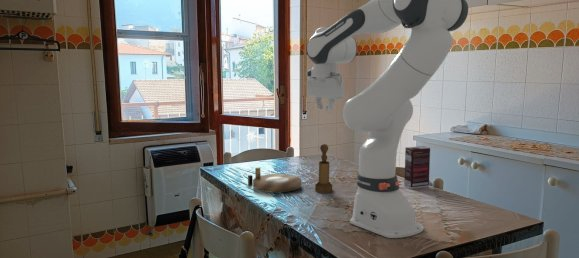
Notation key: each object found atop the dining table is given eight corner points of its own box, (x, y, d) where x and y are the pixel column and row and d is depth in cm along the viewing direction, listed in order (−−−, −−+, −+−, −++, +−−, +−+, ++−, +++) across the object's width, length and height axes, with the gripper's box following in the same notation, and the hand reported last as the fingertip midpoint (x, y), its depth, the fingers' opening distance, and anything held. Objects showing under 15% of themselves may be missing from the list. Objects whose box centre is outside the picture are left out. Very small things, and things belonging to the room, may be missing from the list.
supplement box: (421, 184, 167) (423, 145, 165) (429, 187, 163) (431, 147, 160) (403, 186, 164) (404, 147, 162) (410, 189, 160) (412, 149, 157)
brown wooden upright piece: (331, 193, 155) (331, 146, 152) (314, 192, 156) (314, 145, 153) (333, 188, 161) (333, 143, 159) (316, 187, 162) (316, 142, 160)
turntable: (308, 181, 167) (308, 167, 167) (290, 194, 150) (290, 178, 149) (266, 176, 175) (266, 163, 174) (244, 188, 157) (243, 173, 157)
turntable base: (298, 189, 160) (298, 179, 160) (263, 194, 153) (263, 184, 153) (280, 180, 173) (280, 171, 172) (248, 184, 166) (247, 175, 166)
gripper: (348, 72, 144) (348, 112, 146) (317, 72, 162) (317, 107, 164) (333, 72, 142) (333, 112, 144) (304, 72, 159) (303, 108, 161)
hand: (324, 109), depth 154 cm, fingers open, 5 cm apart
